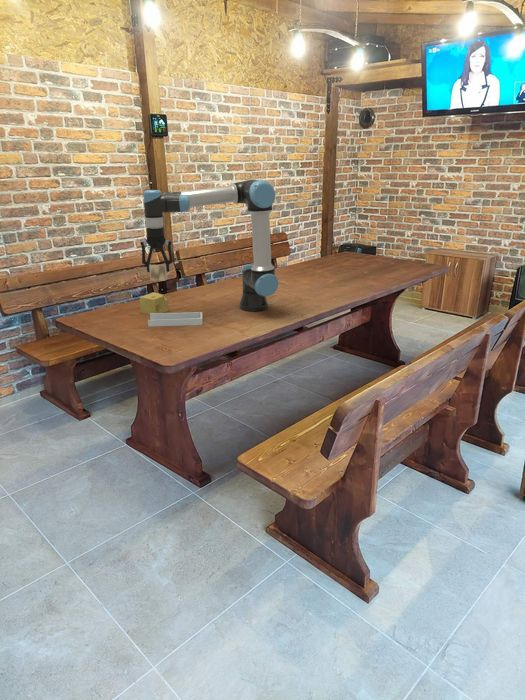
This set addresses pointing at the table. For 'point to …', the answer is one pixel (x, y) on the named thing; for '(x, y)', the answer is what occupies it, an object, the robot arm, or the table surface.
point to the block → (158, 273)
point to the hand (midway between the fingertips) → (158, 278)
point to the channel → (175, 319)
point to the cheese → (153, 303)
